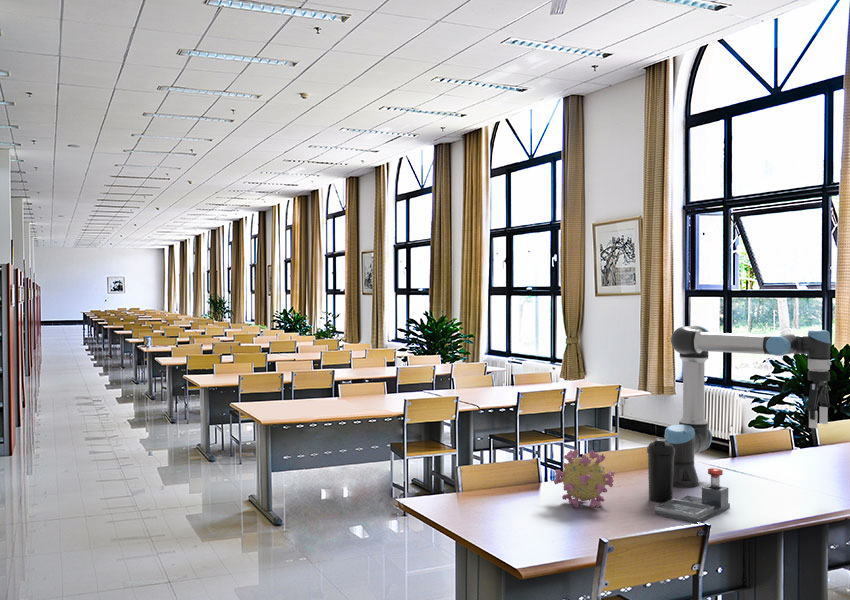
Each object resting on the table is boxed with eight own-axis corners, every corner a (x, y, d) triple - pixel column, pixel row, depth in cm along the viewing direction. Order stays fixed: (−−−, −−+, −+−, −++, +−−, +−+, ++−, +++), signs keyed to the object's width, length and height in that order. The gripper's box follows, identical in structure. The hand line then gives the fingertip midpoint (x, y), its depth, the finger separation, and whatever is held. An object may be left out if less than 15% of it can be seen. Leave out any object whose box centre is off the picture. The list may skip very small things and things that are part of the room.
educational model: (576, 494, 297) (577, 443, 297) (627, 505, 281) (628, 452, 281) (540, 505, 281) (540, 451, 281) (592, 518, 265) (593, 461, 265)
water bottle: (676, 498, 292) (676, 438, 292) (672, 504, 283) (673, 442, 283) (648, 495, 296) (649, 436, 296) (644, 501, 287) (645, 440, 287)
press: (654, 514, 270) (654, 493, 270) (687, 499, 291) (687, 479, 291) (698, 523, 259) (698, 501, 259) (729, 507, 280) (730, 486, 280)
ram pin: (705, 491, 278) (705, 469, 278) (711, 489, 282) (711, 467, 282) (719, 494, 275) (719, 472, 275) (724, 491, 279) (724, 469, 279)
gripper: (819, 373, 281) (819, 431, 281) (838, 368, 299) (838, 423, 299) (798, 371, 286) (797, 428, 286) (817, 367, 304) (817, 420, 304)
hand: (818, 425), depth 292 cm, fingers open, 13 cm apart
